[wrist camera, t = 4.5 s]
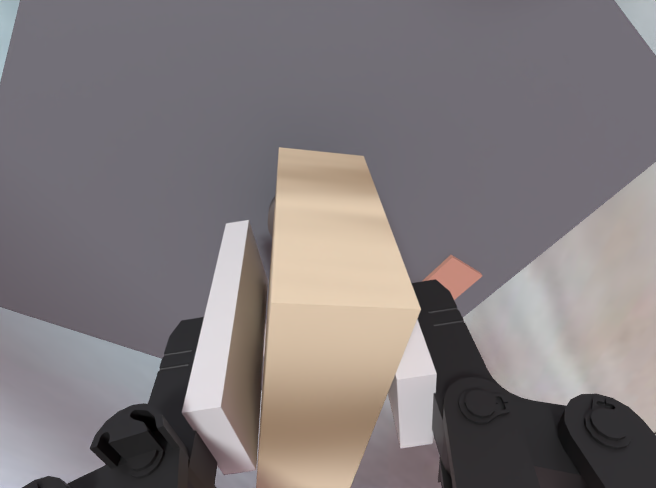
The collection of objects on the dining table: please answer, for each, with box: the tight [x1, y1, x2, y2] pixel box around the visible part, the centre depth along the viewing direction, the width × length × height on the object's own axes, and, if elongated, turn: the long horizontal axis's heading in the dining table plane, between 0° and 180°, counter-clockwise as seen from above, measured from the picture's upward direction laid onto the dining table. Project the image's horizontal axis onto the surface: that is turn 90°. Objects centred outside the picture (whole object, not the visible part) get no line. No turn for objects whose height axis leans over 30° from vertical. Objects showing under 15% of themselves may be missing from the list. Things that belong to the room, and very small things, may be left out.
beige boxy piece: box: [256, 147, 421, 488], centre depth 13 cm, size 12×3×8 cm, turn 172°
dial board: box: [0, 0, 656, 390], centre depth 15 cm, size 20×22×2 cm
